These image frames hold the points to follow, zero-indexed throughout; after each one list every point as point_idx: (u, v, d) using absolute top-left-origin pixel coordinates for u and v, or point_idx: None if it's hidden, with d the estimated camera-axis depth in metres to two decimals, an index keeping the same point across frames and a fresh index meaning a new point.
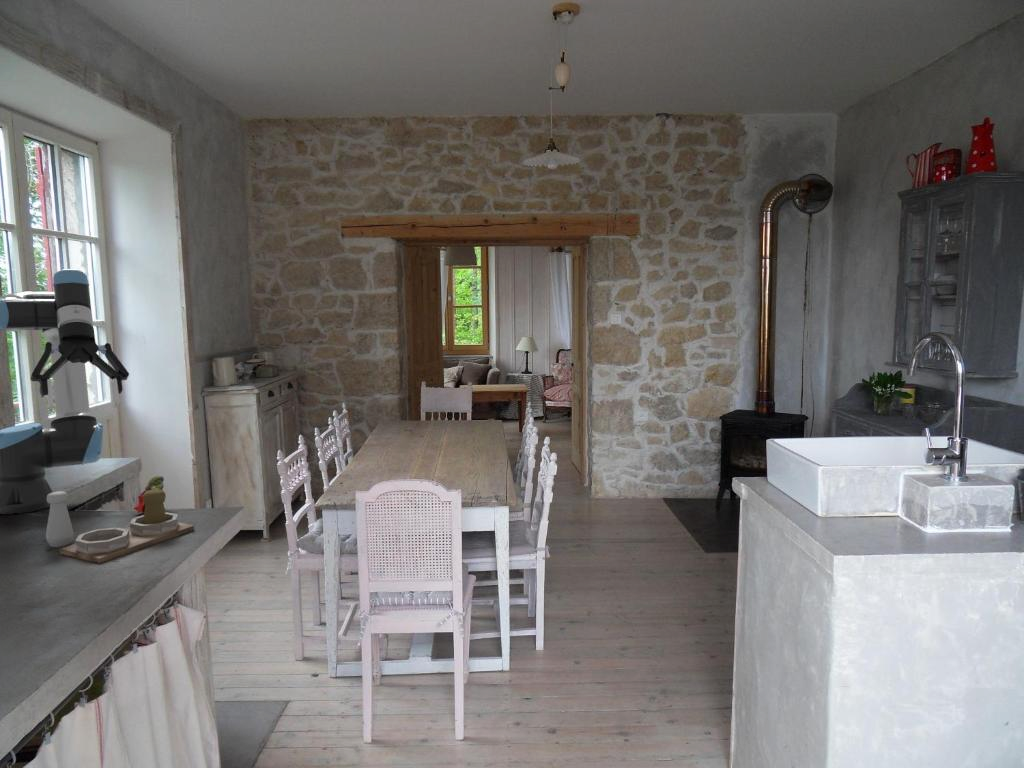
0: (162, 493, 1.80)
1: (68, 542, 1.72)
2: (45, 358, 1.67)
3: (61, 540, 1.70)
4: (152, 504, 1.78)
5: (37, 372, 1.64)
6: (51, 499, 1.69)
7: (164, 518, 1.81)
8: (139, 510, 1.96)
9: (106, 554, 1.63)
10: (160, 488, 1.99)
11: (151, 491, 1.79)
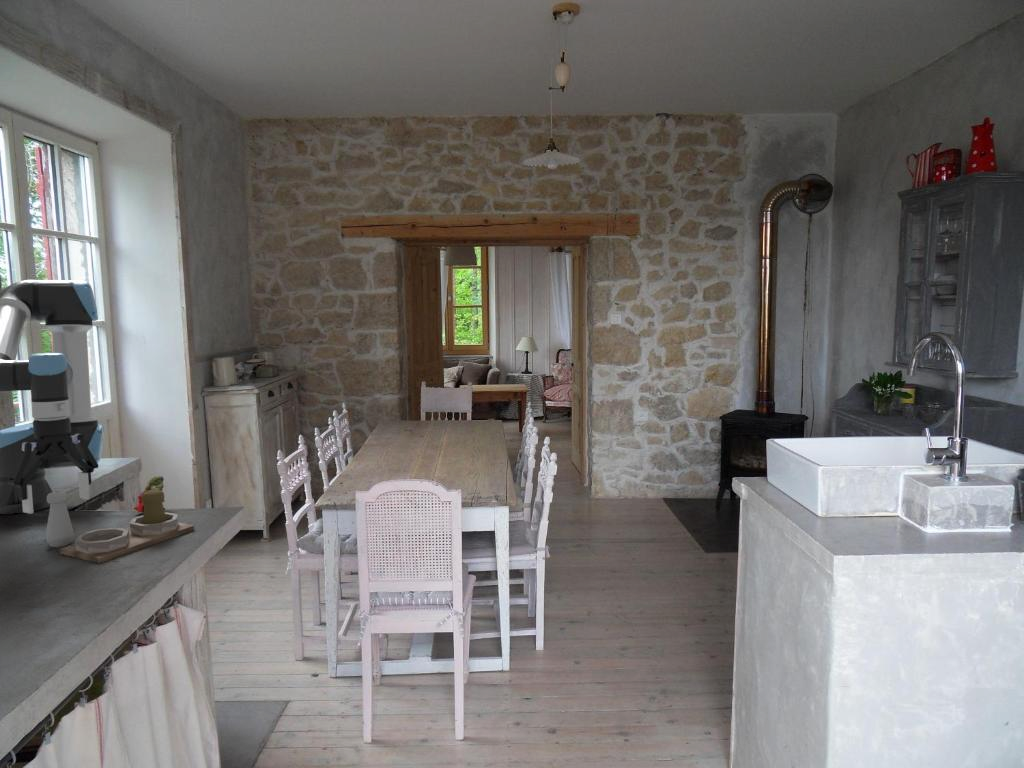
0: None
1: (68, 542, 1.72)
2: (26, 462, 1.63)
3: (61, 540, 1.70)
4: (162, 501, 1.81)
5: (19, 479, 1.62)
6: (51, 499, 1.69)
7: None
8: (139, 510, 1.96)
9: (106, 554, 1.63)
10: (160, 488, 1.99)
11: (157, 491, 1.80)
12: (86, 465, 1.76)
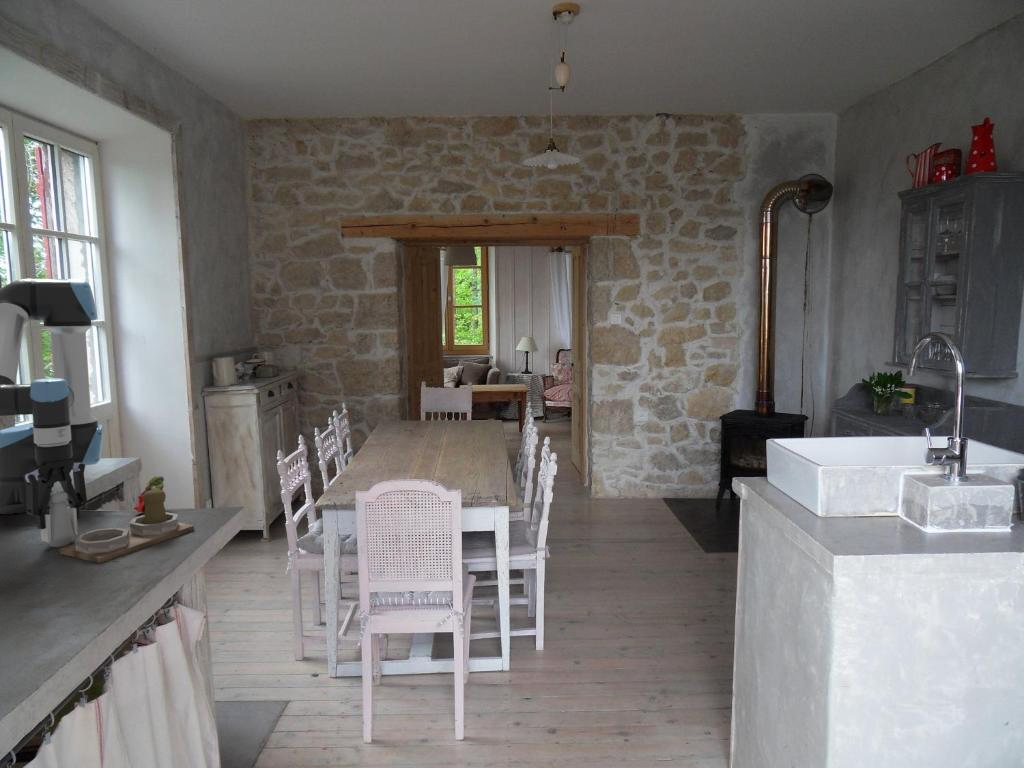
0: (144, 494, 1.79)
1: (68, 542, 1.72)
2: (36, 492, 1.65)
3: (61, 540, 1.70)
4: None
5: (36, 509, 1.66)
6: (51, 499, 1.69)
7: (144, 520, 1.79)
8: (139, 510, 1.95)
9: (106, 554, 1.63)
10: (160, 488, 1.99)
11: None
12: (76, 499, 1.74)
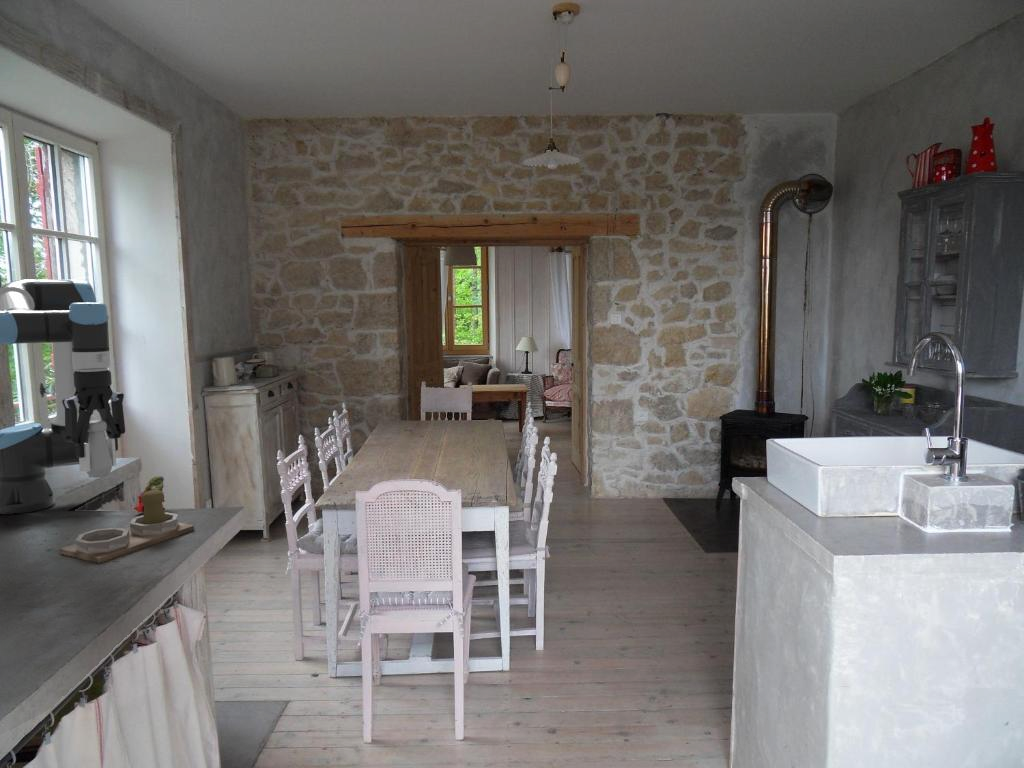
0: (162, 493, 1.80)
1: (107, 473, 1.66)
2: (75, 418, 1.60)
3: (100, 470, 1.64)
4: (154, 504, 1.78)
5: (76, 436, 1.60)
6: (90, 427, 1.63)
7: None
8: (139, 510, 1.95)
9: (106, 554, 1.63)
10: (160, 488, 1.99)
11: (151, 493, 1.78)
12: (115, 429, 1.69)
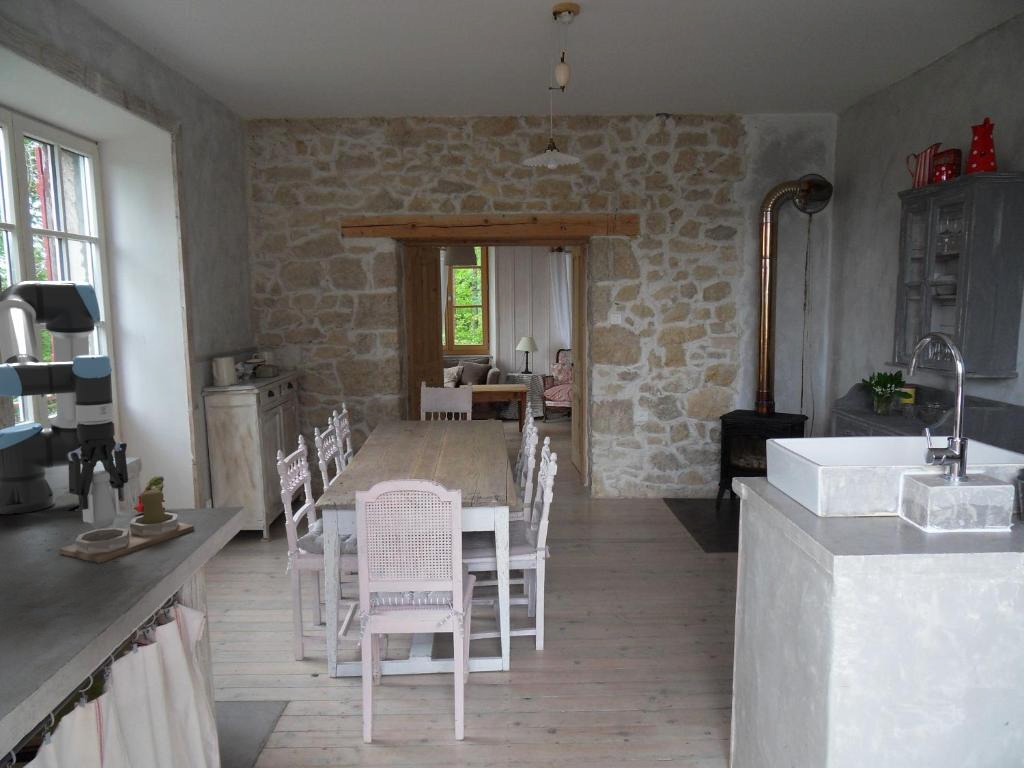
0: (161, 492, 1.80)
1: (110, 523, 1.68)
2: (79, 471, 1.61)
3: (103, 520, 1.66)
4: (153, 504, 1.78)
5: (79, 489, 1.61)
6: (94, 478, 1.65)
7: (164, 517, 1.81)
8: (139, 510, 1.95)
9: (106, 554, 1.63)
10: (160, 488, 1.99)
11: (150, 492, 1.78)
12: (118, 479, 1.70)
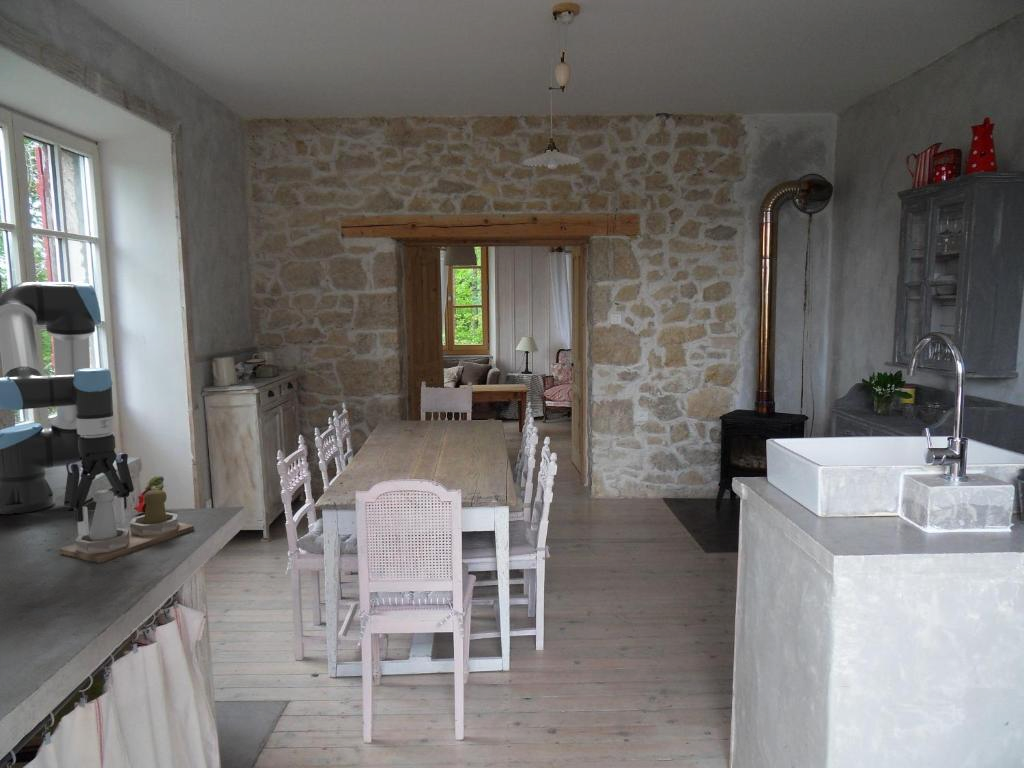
0: (164, 493, 1.80)
1: None
2: (77, 483, 1.61)
3: None
4: (155, 504, 1.78)
5: (74, 501, 1.61)
6: (98, 497, 1.66)
7: (166, 518, 1.81)
8: (139, 510, 1.95)
9: (106, 554, 1.63)
10: (160, 488, 1.99)
11: (153, 492, 1.79)
12: (123, 488, 1.71)
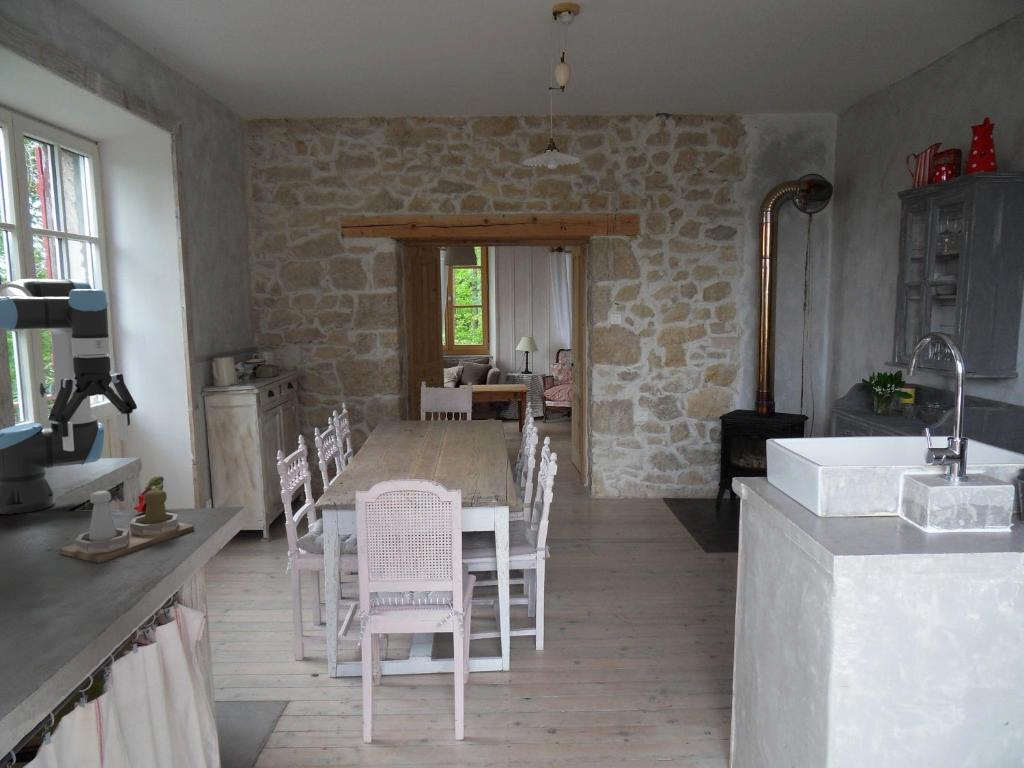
0: None
1: None
2: (67, 399, 1.60)
3: None
4: None
5: (60, 416, 1.59)
6: (95, 498, 1.65)
7: None
8: (139, 510, 1.95)
9: (106, 554, 1.63)
10: (160, 488, 1.99)
11: None
12: (125, 405, 1.73)
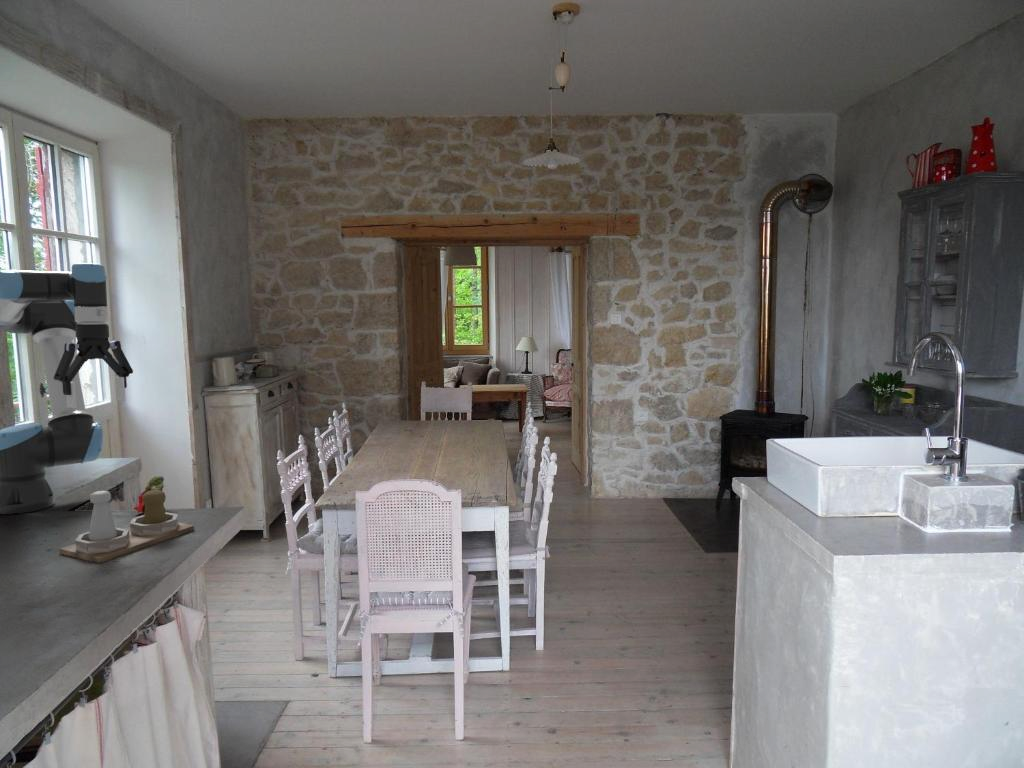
0: (152, 496, 1.77)
1: None
2: (70, 360, 1.79)
3: None
4: None
5: (64, 376, 1.78)
6: (95, 498, 1.65)
7: (154, 522, 1.78)
8: (139, 510, 1.95)
9: (106, 554, 1.63)
10: (160, 488, 1.99)
11: (148, 491, 1.79)
12: (122, 370, 1.92)
